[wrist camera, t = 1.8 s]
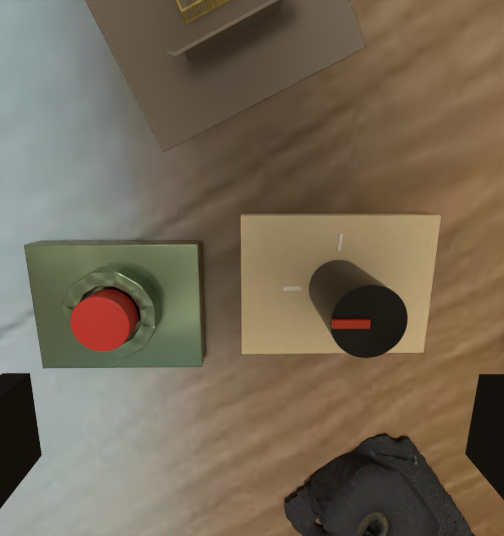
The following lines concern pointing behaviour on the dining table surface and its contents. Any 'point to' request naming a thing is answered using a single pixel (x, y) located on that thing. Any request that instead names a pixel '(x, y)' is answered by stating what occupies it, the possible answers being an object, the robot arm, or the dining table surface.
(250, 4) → the platform
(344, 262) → the dial
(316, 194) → the dining table surface
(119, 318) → the button
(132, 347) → the button housing
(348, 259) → the timer panel
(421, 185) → the dining table surface
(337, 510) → the black cloth
